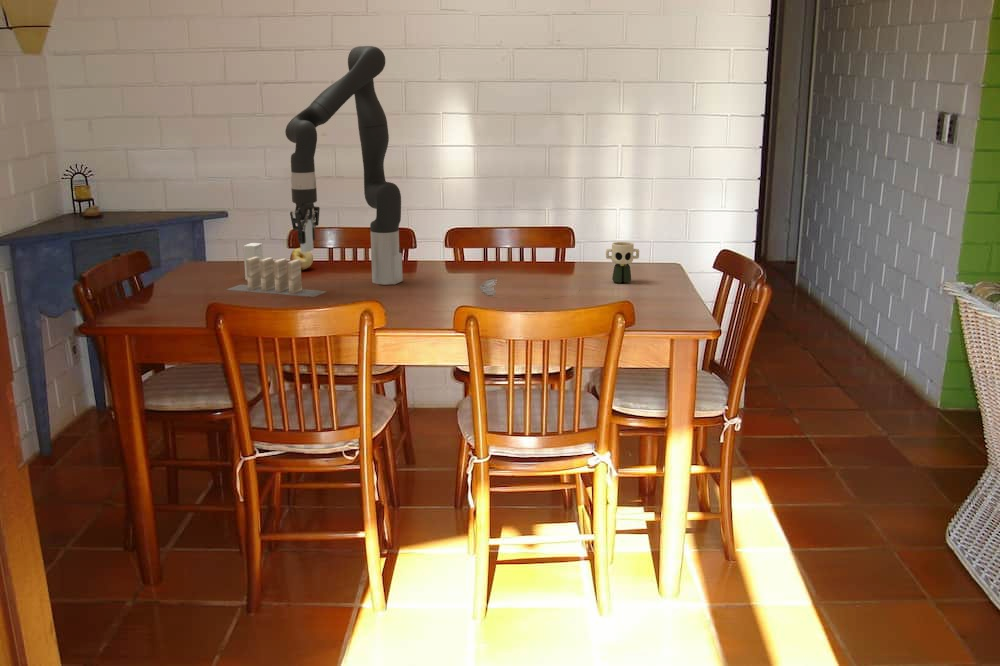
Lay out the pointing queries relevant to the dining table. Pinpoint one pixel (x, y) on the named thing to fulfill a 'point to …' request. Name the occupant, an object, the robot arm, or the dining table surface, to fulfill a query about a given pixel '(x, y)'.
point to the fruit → (302, 258)
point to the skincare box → (252, 253)
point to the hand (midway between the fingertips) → (306, 241)
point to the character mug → (622, 260)
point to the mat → (302, 293)
